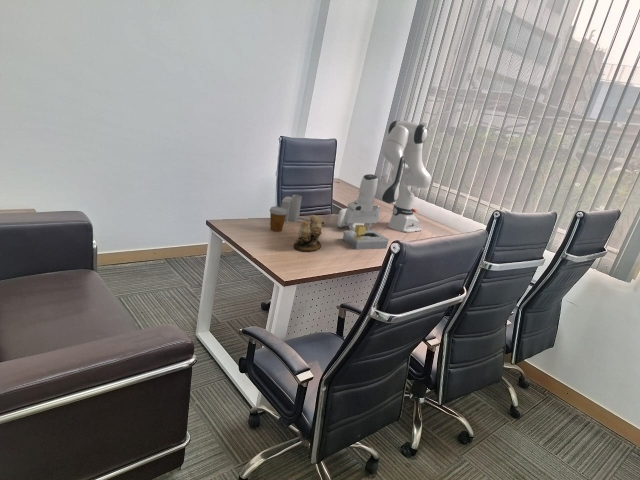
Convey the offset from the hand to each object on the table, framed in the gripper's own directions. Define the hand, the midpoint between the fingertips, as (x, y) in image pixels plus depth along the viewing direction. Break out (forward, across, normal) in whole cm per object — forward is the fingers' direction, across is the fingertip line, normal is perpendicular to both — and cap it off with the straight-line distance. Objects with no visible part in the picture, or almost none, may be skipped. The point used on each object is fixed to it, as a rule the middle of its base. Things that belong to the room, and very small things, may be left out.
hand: (359, 230), depth 216 cm
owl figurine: (+8, +30, +1) cm, 31 cm away
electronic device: (+8, +17, -35) cm, 40 cm away
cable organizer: (+8, -10, -24) cm, 27 cm away
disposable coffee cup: (+8, +38, -23) cm, 45 cm away
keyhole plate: (+8, -5, 0) cm, 9 cm away
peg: (+8, 0, 0) cm, 8 cm away
